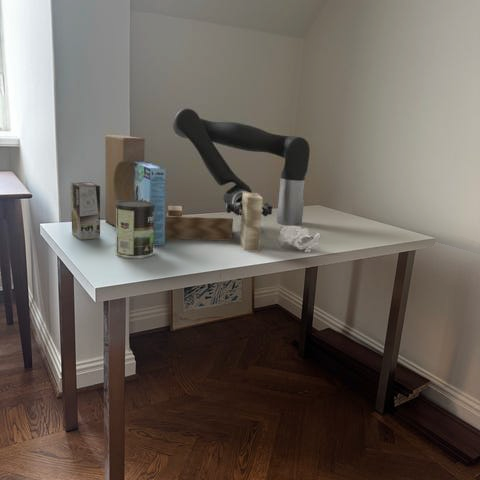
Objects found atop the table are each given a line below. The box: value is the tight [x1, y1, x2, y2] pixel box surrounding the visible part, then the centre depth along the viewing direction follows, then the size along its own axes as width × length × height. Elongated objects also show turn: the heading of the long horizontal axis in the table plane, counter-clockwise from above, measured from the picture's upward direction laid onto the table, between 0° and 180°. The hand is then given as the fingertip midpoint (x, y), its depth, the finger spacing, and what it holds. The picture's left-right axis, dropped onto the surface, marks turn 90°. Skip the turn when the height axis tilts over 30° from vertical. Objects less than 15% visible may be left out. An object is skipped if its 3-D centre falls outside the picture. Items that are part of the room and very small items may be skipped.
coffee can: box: [115, 200, 155, 259], centre depth 128 cm, size 10×10×14 cm
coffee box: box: [70, 181, 101, 241], centre depth 142 cm, size 9×6×16 cm
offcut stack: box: [166, 205, 183, 216], centre depth 154 cm, size 5×10×9 cm, turn 8°
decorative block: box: [104, 134, 146, 228], centre depth 157 cm, size 15×8×30 cm, turn 37°
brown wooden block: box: [165, 215, 234, 241], centre depth 155 cm, size 23×14×7 cm, turn 98°
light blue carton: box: [134, 161, 167, 246], centre depth 144 cm, size 20×5×23 cm, turn 25°
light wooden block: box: [239, 192, 264, 252], centre depth 143 cm, size 4×10×16 cm, turn 8°
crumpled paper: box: [277, 225, 321, 254], centre depth 146 cm, size 12×7×12 cm
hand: (252, 212), depth 141 cm, fingers open, 8 cm apart
